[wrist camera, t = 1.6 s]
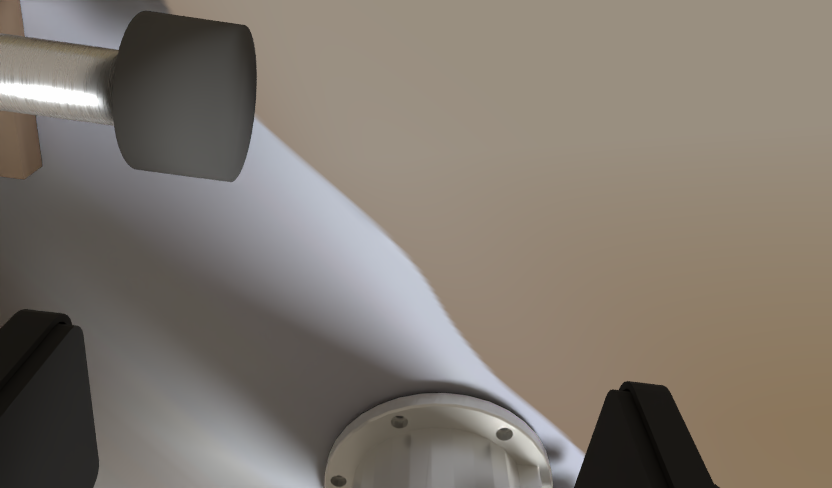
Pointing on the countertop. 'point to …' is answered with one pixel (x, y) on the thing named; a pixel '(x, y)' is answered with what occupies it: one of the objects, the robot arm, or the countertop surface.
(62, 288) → the countertop surface
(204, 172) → the shaft
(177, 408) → the countertop surface
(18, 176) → the base plate
